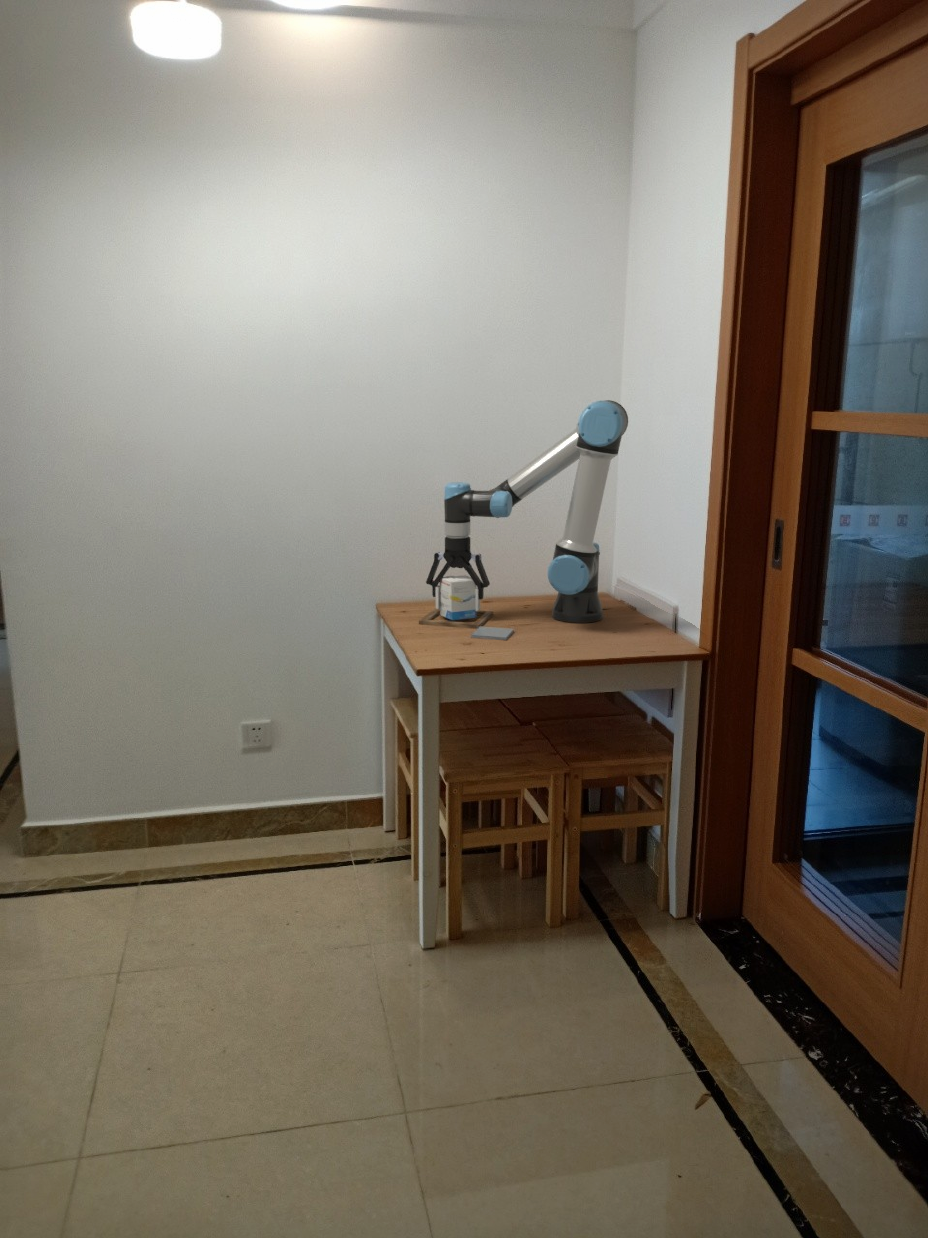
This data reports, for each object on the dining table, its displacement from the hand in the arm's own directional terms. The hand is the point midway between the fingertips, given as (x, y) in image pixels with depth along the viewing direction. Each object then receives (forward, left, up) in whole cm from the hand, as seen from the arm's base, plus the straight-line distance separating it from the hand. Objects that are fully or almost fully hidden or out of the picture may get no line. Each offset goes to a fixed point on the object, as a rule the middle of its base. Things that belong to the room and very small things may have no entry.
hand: (457, 608), depth 301 cm
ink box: (0, 0, -2) cm, 2 cm away
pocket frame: (0, 0, -3) cm, 3 cm away
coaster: (-14, +14, -3) cm, 21 cm away
